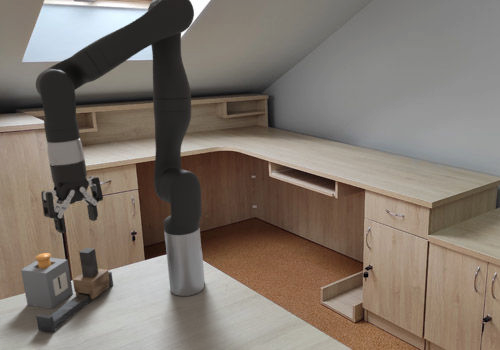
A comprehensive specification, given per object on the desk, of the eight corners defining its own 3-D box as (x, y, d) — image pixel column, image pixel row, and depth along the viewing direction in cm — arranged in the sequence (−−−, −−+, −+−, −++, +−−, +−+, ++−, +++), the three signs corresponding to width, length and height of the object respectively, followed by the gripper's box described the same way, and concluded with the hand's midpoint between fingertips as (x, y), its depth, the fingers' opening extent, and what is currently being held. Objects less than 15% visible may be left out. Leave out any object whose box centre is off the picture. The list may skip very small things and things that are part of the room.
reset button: (45, 271, 127) (42, 252, 126) (56, 272, 126) (53, 253, 124) (35, 277, 124) (32, 258, 122) (47, 279, 123) (43, 259, 121)
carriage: (92, 283, 132) (86, 244, 129) (110, 286, 130) (104, 246, 127) (75, 296, 125) (68, 254, 122) (94, 299, 123) (88, 257, 120)
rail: (101, 283, 134) (99, 270, 133) (113, 284, 133) (111, 271, 132) (38, 330, 112) (35, 315, 111) (52, 333, 111) (49, 318, 110)
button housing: (49, 289, 132) (43, 256, 129) (74, 293, 129) (69, 260, 126) (27, 304, 124) (20, 269, 122) (53, 309, 121) (47, 273, 119)
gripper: (83, 151, 115) (93, 214, 120) (28, 165, 104) (41, 233, 109) (103, 153, 111) (112, 218, 115) (47, 168, 100) (60, 240, 104)
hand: (78, 226), depth 112 cm, fingers open, 8 cm apart
